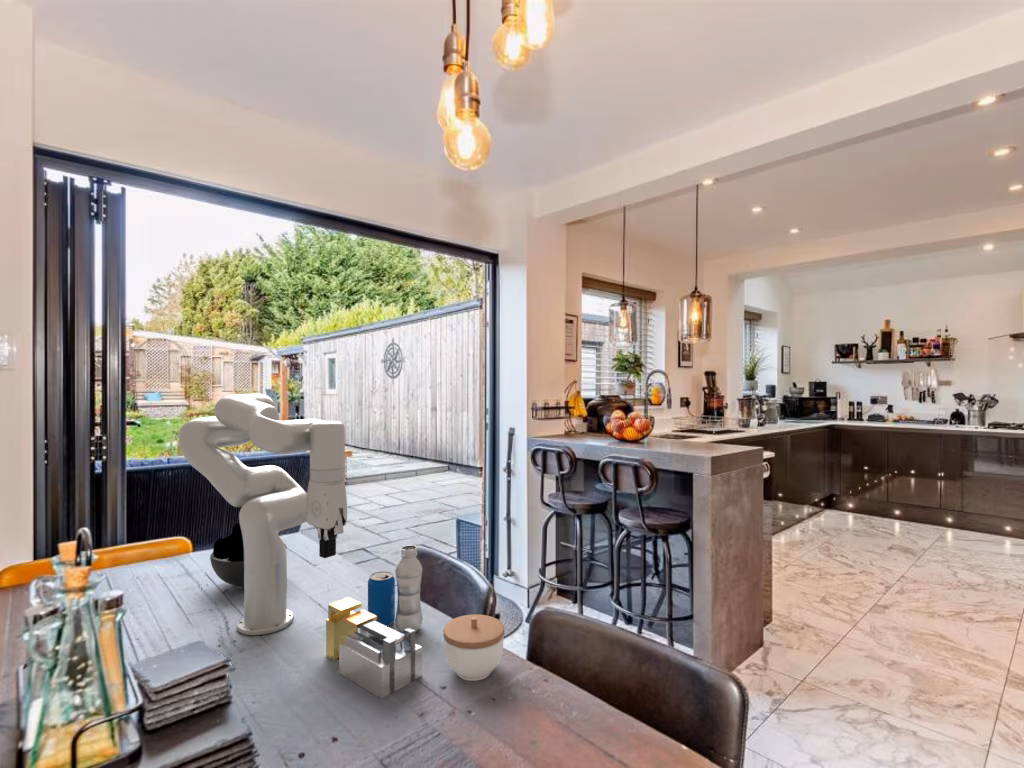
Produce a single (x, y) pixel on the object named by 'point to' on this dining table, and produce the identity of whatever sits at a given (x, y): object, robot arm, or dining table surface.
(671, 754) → the dining table surface
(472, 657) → the lidded bowl
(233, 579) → the bowl of black rocks
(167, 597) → the dining table surface
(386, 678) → the heatsink
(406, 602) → the plastic bottle
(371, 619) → the strap
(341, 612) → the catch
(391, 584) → the beverage can
